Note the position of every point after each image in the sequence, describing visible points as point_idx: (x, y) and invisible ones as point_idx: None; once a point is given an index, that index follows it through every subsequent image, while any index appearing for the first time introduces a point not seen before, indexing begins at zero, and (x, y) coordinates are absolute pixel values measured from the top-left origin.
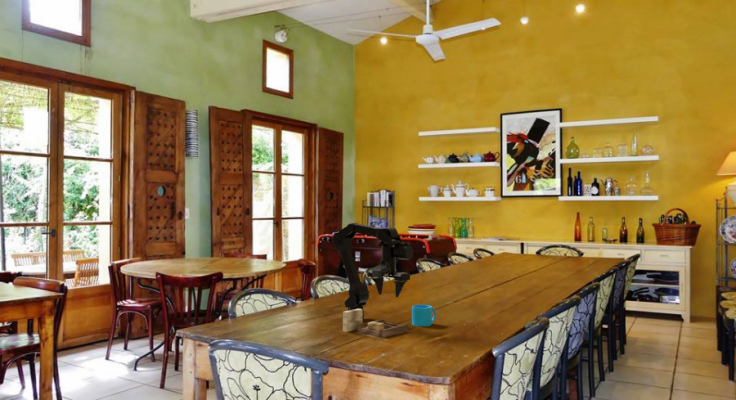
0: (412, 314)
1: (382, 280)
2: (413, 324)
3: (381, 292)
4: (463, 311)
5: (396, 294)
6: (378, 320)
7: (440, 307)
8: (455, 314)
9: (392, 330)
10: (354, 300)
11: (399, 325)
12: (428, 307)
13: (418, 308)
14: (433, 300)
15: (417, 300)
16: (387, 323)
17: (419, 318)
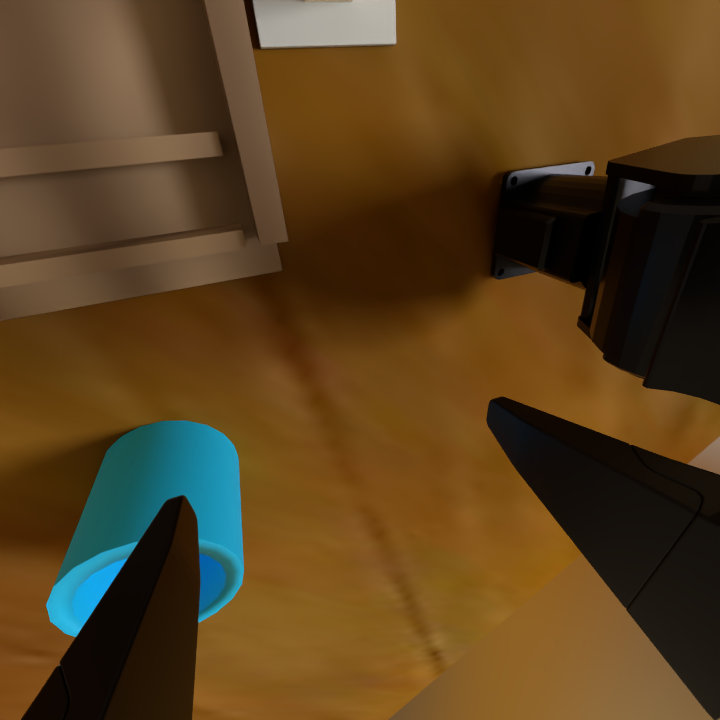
0: (192, 482)
1: (663, 629)
2: (175, 431)
3: (500, 442)
4: (318, 654)
5: (146, 539)
6: (260, 179)
7: (412, 613)
8: (298, 630)
9: None
10: (683, 165)
11: (19, 261)
12: (80, 622)
13: (88, 556)
14: (486, 614)
15: (521, 583)
16: (194, 235)
17: (106, 486)
